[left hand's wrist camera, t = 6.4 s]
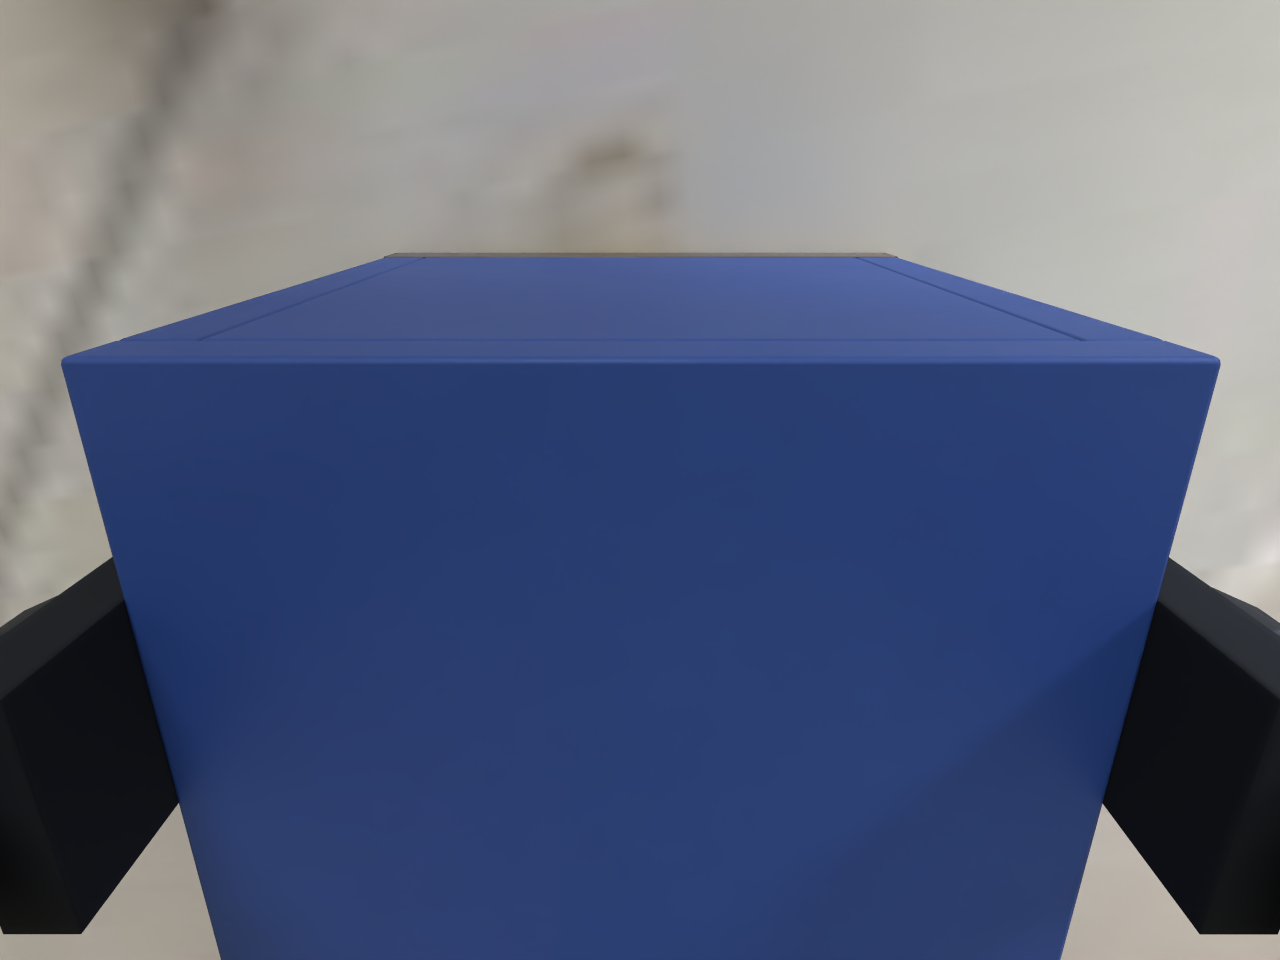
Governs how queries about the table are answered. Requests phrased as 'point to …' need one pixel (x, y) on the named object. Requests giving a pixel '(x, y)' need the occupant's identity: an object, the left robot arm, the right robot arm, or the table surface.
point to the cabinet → (640, 601)
